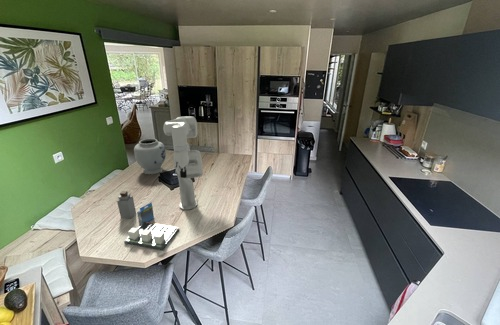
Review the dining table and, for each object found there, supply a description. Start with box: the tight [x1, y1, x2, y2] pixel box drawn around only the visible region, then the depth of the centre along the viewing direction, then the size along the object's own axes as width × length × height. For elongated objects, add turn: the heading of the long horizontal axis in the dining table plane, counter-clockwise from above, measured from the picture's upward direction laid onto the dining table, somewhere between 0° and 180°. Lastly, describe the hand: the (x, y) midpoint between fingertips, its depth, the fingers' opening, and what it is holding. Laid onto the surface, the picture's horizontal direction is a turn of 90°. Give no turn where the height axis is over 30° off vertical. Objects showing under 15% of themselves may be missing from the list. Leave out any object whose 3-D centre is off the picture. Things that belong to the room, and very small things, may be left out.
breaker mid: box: [141, 230, 152, 242], centre depth 134 cm, size 4×4×5 cm
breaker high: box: [154, 232, 165, 244], centre depth 132 cm, size 4×4×5 cm
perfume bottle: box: [116, 190, 137, 220], centre depth 156 cm, size 7×7×18 cm
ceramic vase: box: [133, 138, 167, 175], centre depth 221 cm, size 27×27×30 cm
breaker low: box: [127, 227, 140, 240], centre depth 135 cm, size 4×4×5 cm
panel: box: [123, 221, 180, 252], centre depth 140 cm, size 18×24×3 cm
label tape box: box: [136, 202, 155, 225], centre depth 152 cm, size 9×4×12 cm, turn 150°
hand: (183, 177), depth 139 cm, fingers closed
